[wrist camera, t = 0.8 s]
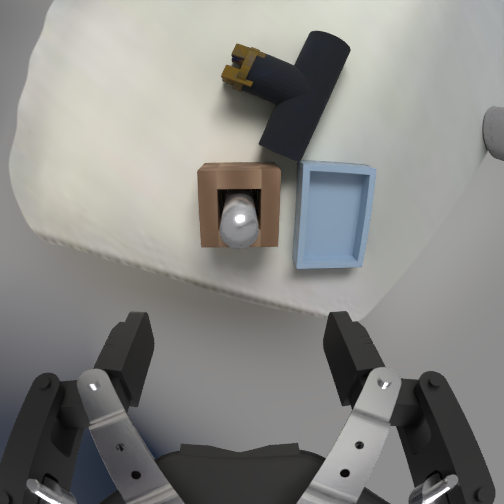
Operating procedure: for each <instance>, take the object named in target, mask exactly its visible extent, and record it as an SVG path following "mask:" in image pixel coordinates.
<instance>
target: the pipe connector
mask: <svg viewBox="0 0 504 504" xmlns="http://www.w3.org/2000/svg"><path fill="white" fill-rule="evenodd" d="M349 53H350V47H349V46H348V45H347V44H346V43H345V42H344V41H343V40H341V39H340V38H338V37H336V36H334V35H332V34H329V33H326V32H322V31H312V32H310V34H309V36H308V38H307V40H306V42H305V44H304V46H303V48H302V50H301V52H300V54H299V56H298V58H297V60H296V63H295V65H292V64H289V63H287V62H285V61H282V60H280V59H278V58H275V57H273V56H270V55H268V54H265V53H263V52H260V50H258V49H256V48H253V47H251V48H249V47H246V46H243V45H240V44H236V46H235V48H234V50H233V52H232V57H233V58H232V62H234V63H237V64H240V65H242V66H241V68H240V69H238V68H235V67H232V66H229V65H226V67H225V69H224V71H223V73H222V75H221V77H222V78H223V79H222V81H223V82H226V83H229V84H232V85H234V86H233V89H235V90H238V91H241V90H242V91H245V92H247V93H250V94H253V95H255V96H258V97H260V98H263V99H265V100H268V101H270V102H272V103H275V104H276V106H275V108H274V110H273V112H272V115H271V117H270V119H269V121H268V124H267V126H266V128H265V130H264V133H263V135H262V137H261V140H260V142H259V145H261V146H263V147H265V148H267V149H269V150H272V151H274V152H276V153H278V154H281V155H283V156H285V157H288V158H290V159H293V160H295V161H297V162H300V161H301V159H302V157H303V155H304V153H305V150H306V148H307V146H308V144H309V142H310V139H311V137H312V135H313V133H314V131H315V128H316V126H317V124H318V122H319V120H320V117H321V115H322V113H323V111H324V108H325V106H326V104H327V102H328V100H329V97H330V95H331V93H332V91H333V89H334V86H335V84H336V82H337V80H338V77H339V75H340V73H341V71H342V69H343V66H344V64H345V62H346V60H347V57H348V55H349Z"/></svg>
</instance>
